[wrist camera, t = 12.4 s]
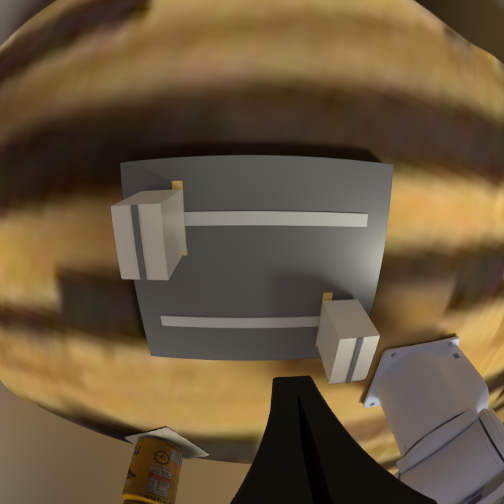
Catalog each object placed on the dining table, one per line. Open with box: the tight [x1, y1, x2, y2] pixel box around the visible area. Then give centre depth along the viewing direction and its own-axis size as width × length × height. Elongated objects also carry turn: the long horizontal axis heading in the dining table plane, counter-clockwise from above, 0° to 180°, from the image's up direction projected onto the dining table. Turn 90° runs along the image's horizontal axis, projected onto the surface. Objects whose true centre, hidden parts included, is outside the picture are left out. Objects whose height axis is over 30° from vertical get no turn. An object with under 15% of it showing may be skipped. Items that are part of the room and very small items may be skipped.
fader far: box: [317, 299, 380, 384], centre depth 16 cm, size 2×4×4 cm
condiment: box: [122, 427, 209, 504], centre depth 22 cm, size 7×8×12 cm
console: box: [120, 155, 393, 360], centre depth 18 cm, size 16×14×2 cm
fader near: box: [111, 189, 186, 281], centre depth 13 cm, size 2×4×4 cm
